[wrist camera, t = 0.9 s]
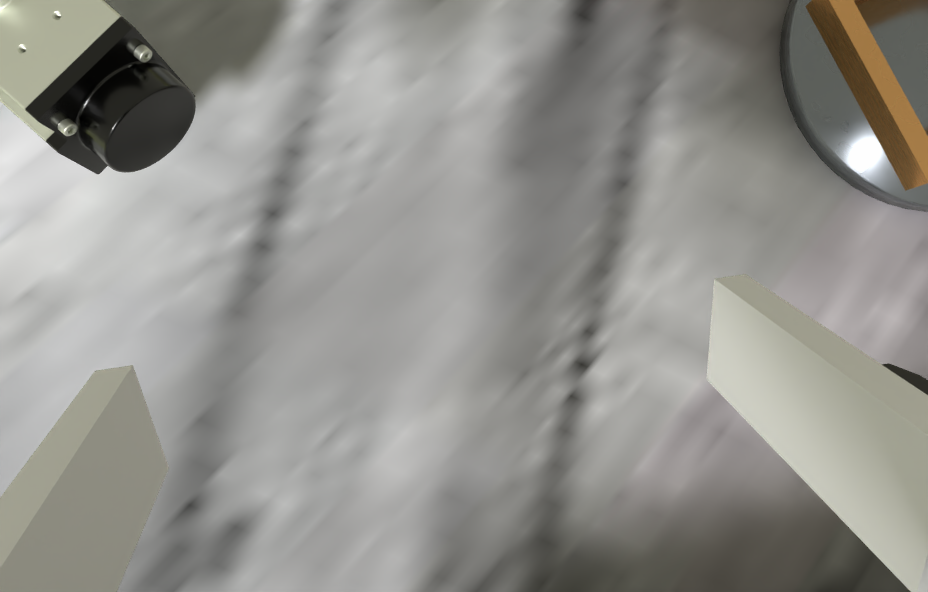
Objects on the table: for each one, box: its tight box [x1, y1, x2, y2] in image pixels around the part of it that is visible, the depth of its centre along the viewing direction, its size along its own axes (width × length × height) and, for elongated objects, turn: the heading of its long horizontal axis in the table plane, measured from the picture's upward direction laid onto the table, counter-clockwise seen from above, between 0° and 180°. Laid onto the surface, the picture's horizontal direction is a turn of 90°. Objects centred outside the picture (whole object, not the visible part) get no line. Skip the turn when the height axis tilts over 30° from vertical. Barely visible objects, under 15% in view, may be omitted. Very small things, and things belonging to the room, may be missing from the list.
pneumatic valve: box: [0, 0, 196, 174], centre depth 27 cm, size 6×12×12 cm, turn 48°
